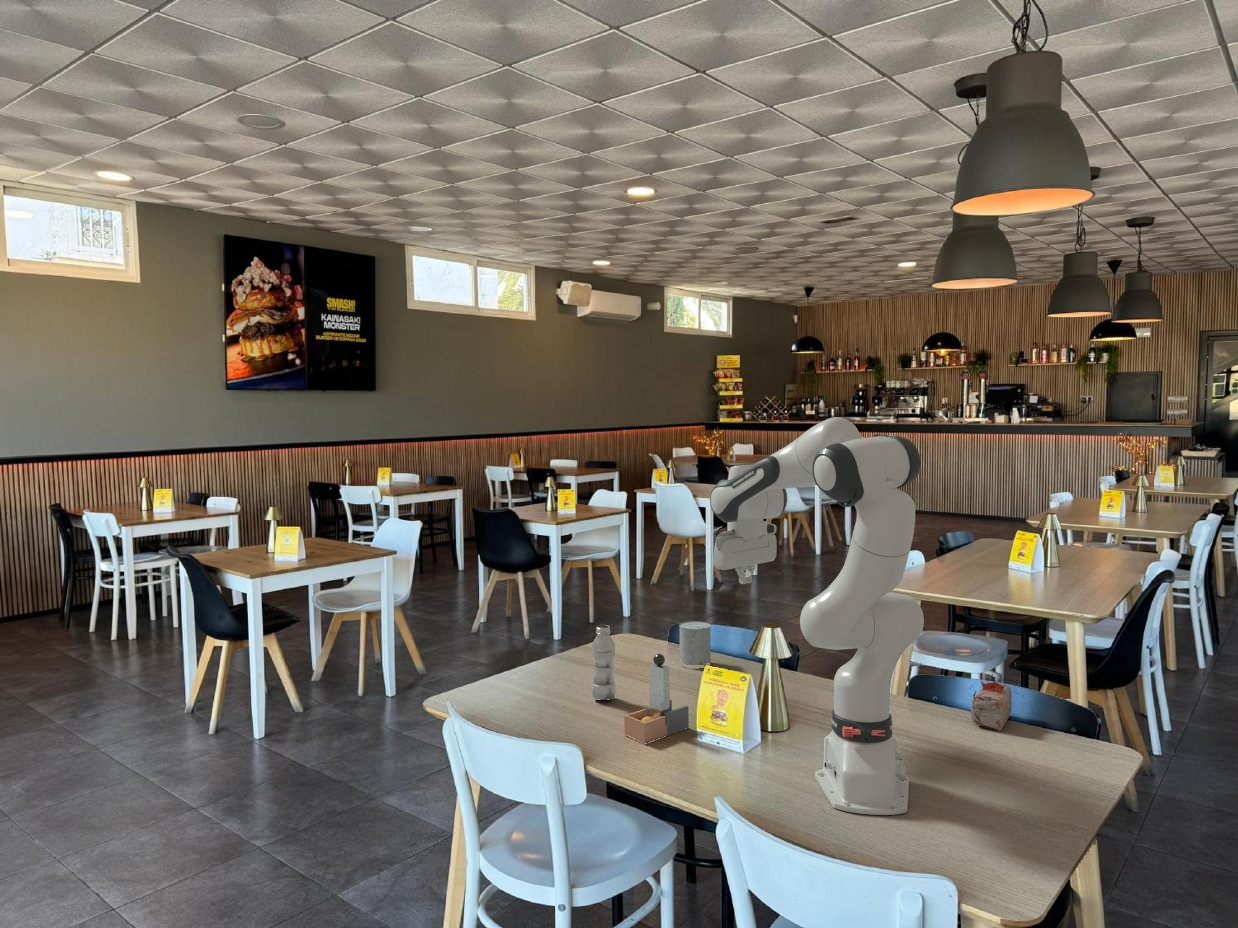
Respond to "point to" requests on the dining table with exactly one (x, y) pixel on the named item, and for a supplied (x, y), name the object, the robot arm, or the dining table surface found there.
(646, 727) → the cup
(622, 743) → the dining table surface
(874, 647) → the robot arm
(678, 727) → the launcher
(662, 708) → the grey upright post
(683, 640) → the grey cylinder
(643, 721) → the ball
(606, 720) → the dining table surface
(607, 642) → the plastic bottle
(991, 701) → the food item
